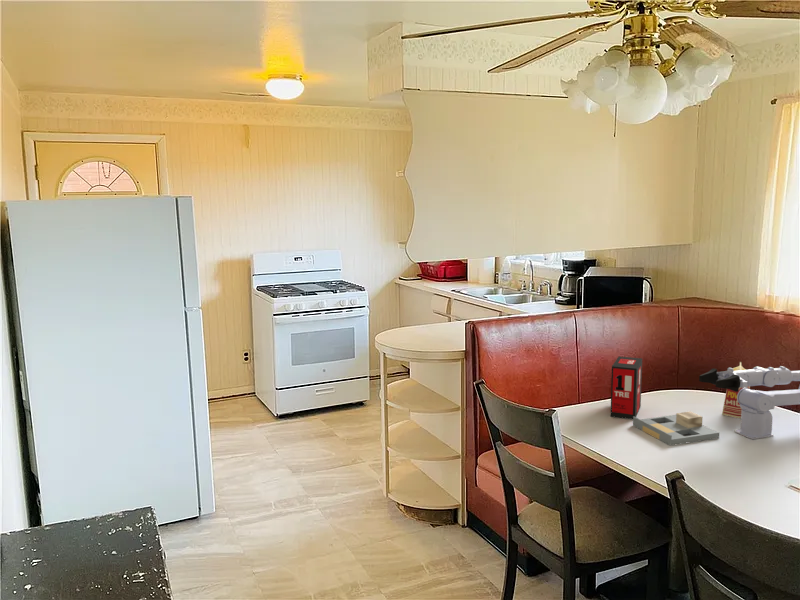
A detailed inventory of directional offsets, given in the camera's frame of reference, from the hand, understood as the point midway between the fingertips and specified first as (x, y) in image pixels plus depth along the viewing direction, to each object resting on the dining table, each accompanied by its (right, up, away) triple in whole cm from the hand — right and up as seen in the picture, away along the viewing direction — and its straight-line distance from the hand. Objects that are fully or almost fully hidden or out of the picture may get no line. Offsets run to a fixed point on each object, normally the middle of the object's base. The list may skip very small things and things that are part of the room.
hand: (707, 381), depth 208 cm
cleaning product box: (-15, -17, +34) cm, 41 cm away
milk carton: (+25, -17, +28) cm, 41 cm away
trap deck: (-6, -20, +12) cm, 24 cm away
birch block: (0, -17, +13) cm, 22 cm away
